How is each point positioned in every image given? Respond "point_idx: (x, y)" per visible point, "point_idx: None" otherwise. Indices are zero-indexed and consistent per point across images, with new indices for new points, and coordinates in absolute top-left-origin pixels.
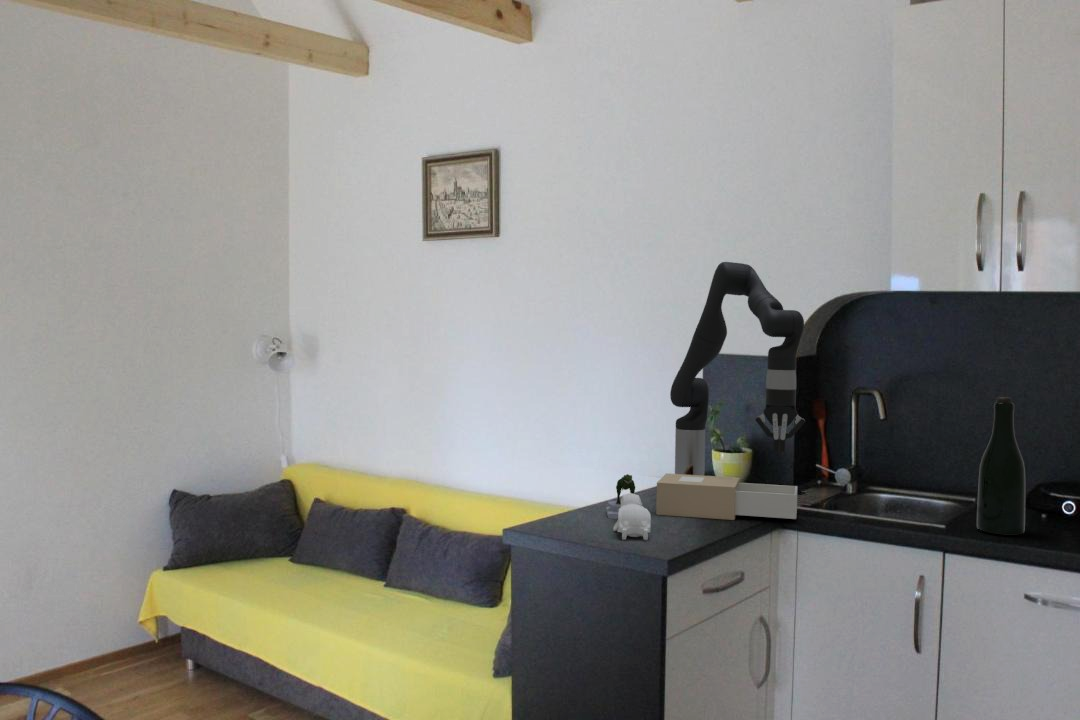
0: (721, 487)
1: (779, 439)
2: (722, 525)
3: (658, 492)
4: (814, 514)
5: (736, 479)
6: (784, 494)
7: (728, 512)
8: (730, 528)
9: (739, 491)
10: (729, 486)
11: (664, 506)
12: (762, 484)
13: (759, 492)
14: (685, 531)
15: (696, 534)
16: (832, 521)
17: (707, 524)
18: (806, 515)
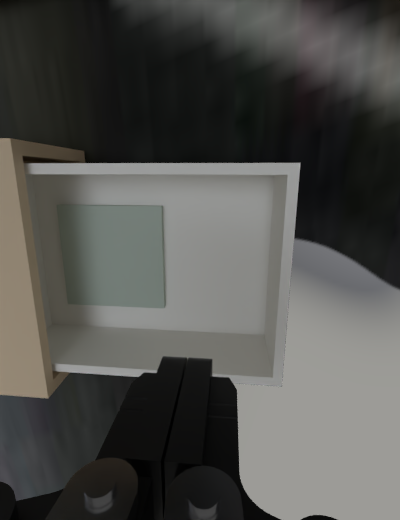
0: (2, 392)
1: (160, 495)
2: (84, 401)
3: None
4: (342, 166)
5: (9, 204)
6: (234, 382)
7: None
8: (107, 426)
9: (70, 371)
10: (25, 386)
11: None
12: (133, 174)
13: (141, 373)
14: (24, 472)
15: (51, 491)
16: (388, 269)
17: (49, 399)
18: (311, 195)
